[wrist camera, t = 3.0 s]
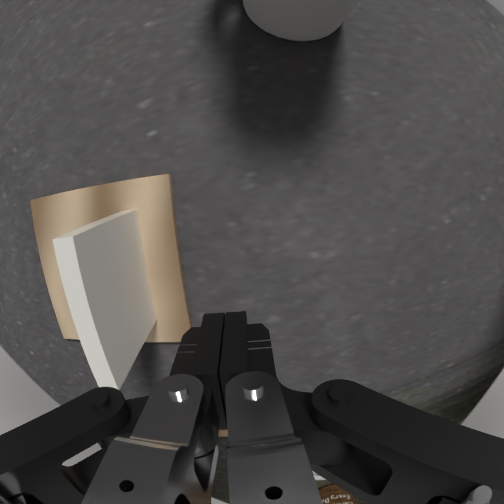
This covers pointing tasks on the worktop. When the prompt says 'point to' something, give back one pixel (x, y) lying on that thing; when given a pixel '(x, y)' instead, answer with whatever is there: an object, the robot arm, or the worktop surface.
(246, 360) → the robot arm
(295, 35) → the cup
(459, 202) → the worktop surface
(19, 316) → the worktop surface
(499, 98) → the worktop surface
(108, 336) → the tile
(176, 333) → the board
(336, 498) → the utensil holder
